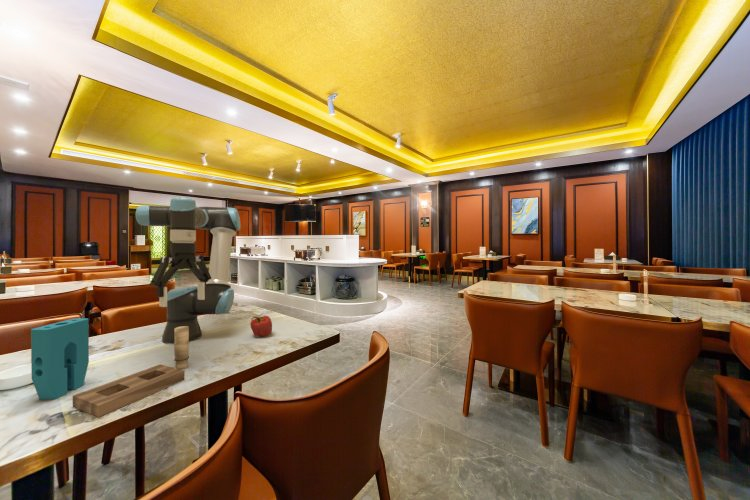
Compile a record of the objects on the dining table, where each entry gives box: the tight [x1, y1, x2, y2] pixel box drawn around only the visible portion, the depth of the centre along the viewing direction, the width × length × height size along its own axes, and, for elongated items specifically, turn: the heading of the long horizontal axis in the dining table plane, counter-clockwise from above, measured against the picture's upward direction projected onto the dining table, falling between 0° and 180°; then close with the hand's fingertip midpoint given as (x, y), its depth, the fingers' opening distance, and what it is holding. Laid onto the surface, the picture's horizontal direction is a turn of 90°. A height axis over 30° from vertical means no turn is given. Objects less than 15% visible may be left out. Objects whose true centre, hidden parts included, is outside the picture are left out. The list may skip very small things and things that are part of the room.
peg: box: [174, 326, 190, 370], centre depth 103 cm, size 4×4×14 cm
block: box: [30, 317, 90, 401], centre depth 85 cm, size 12×5×20 cm, turn 1°
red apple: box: [249, 315, 273, 338], centre depth 138 cm, size 11×10×10 cm
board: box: [72, 363, 185, 418], centre depth 86 cm, size 12×22×3 cm, turn 158°
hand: (183, 302), depth 103 cm, fingers open, 13 cm apart
